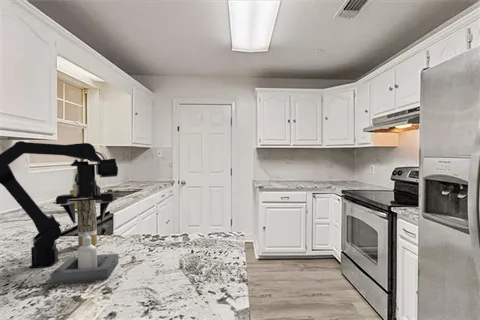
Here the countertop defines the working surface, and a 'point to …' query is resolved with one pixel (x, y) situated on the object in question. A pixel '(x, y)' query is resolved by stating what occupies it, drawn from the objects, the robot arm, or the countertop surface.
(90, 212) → the wooden log
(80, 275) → the hollow square frame
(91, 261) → the eye dropper bottle
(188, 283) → the countertop surface
